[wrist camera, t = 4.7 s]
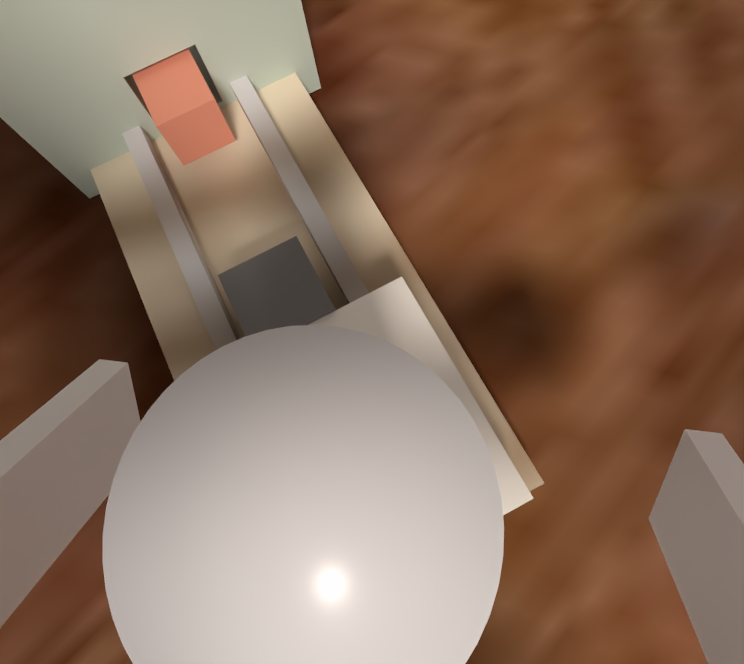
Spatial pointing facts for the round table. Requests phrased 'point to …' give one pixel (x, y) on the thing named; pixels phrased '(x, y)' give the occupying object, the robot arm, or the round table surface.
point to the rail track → (260, 229)
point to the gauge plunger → (183, 107)
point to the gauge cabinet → (131, 66)
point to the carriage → (310, 489)
